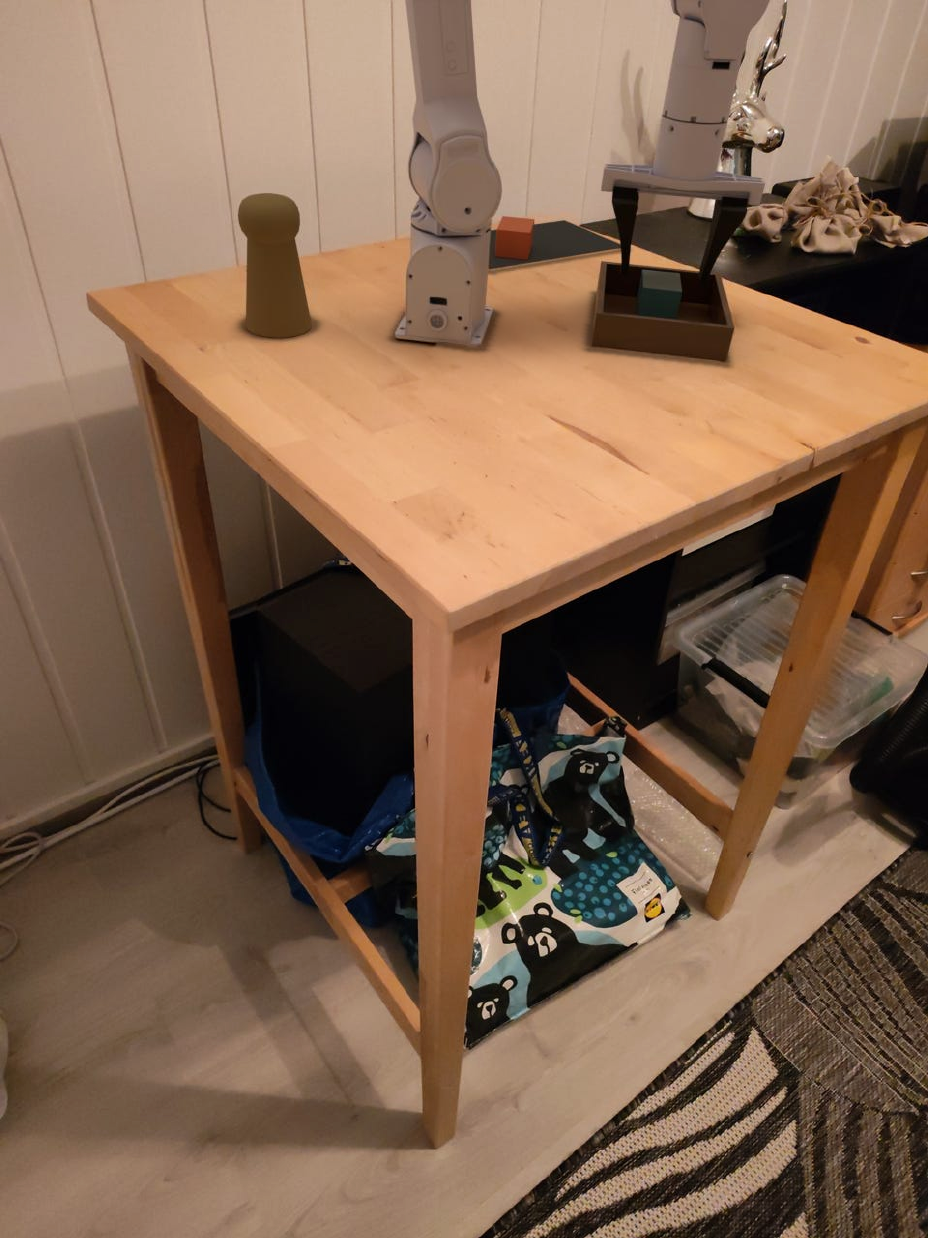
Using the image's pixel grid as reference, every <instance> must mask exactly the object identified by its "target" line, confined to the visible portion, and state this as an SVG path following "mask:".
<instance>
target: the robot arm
mask: <svg viewBox="0 0 928 1238" xmlns="http://www.w3.org/2000/svg"><path fill="white" fill-rule="evenodd" d="M770 1H771V0H670V1H669V2H670V6H671V10H672V12H673V13H672V14H674V15H675V16H677V17H679V18H678V25H677V31H676V35H675V36H676V37H675V42H674V46H673V51H672V58H671V63H670V68H669V73H668V74H669V75H668V80H667V87H666V91H665V97H664V102H663V109H662V114H661V119H660V126H659V131H658V136H657V142H656V146H655V152H654V159H653V164H616V163H615V164H613V163H604V166H603V173H602V180H601V187H600V191H601V192H609V193H611V206H612V210H613V215H614V218H615V222H616V226H617V233H618V237H619V244H620V246H621V248H620V257H621V258H620V263H621V271H620V275H626V276H628V270H629V264H631V263H630V262H631V252H632V251H631V250H632V241H633V236H634V231H635V225H636V219H637V215H638V211H639V198H640V194H649V195H662V196H671V197H681V198H691V199H704V200H714V205H713V212H712V215H711V216H712V217H711V222H710V228H709V231H708V236H707V240H706V241H707V242H706V245H705V248H704V252H703V255H702V258H701V262H700V266H699V270H698V271H699V275H698V277H699V283H704V284H706V283H707V281H708V278H709V275H710V273H712V271H713V269H714V266H715V264H716V262H717V261H718V258H719V257H720V255H721V253H722V252H723V250H724V248H725V246H726V245H727V244H728V242H729V240H730V239H731V238H732V236H733V235H734V234H735V232H736V231H737V230H738V228H739V227H740V226H741V225H742V224H743V222H744V221H745V219H746V217H747V214H748V206H756V207H757V206H758V207H760V205H761V201H762V199H763V194H764V190H765V186H766V182H765V180H764V178H763V177H757V176H749V175H743V174H735V173H729V172H725V171H724V172H723V171H718V165H719V162H720V156H721V152H722V148H723V144H724V139H725V135H726V130H727V126H728V121H729V117H730V112H731V108H732V104H733V99H734V94H735V91H736V86H737V80H738V78H739V77H738V76H739V72H740V67H741V63H742V59H743V54H744V53H745V51H746V47H747V43H748V39H749V36H750V34H751V32H752V30H753V29H754V27H755V26H756V25H757V24H758V23H759V21H760V20H761V18H762V17H763V16H764V14H765V13H766V10H767V8H768V6H769V3H770ZM404 2H405V10H406V11H405V12H406V20H407V28H408V29H407V30H408V39H409V45H410V47H409V48H410V56H411V65H412V74H413V83H414V92H415V104H414V109H413V113H412V118H411V119H412V120H411V121H412V129H413V141H412V146H411V149H410V153H409V156H408V159H407V176H408V180H409V183H410V186H411V188H412V190H413V191H414V193H415V194H416V195H417V196H418V200H417V201H416V202H415V205H414V207H413V209H412V211H411V212H410V237H409V238H410V239H409V240H410V241H409V242H410V244H409V247H410V248H409V250H410V252H409V259H408V262H407V265H406V270H405V314H404V316H403V318H402V319H401V321H400V322H399V325H398V326H397V328H396V329H395V332H394V337H395V338H396V339H398V340H399V339H400V340H409V341H417V342H426V343H435V344H436V343H447V344H454V345H455V344H456V345H464V346H474V347H479V346H481V345H482V344H483V342H484V338H485V335H486V333H487V330H488V327H489V325H490V322H491V319H492V316H493V313H494V307H492V306H488V305H487V295H488V293H487V292H488V279H489V268H488V267H489V253H490V238H491V230H492V224H493V217H495V214H496V213H497V211H498V209H499V206H500V203H501V199H502V193H503V185H502V178H501V175H500V172H499V169H498V167H497V166H496V165H495V162H494V161H493V159H492V157H491V153H490V150H489V144H488V143H489V142H488V141H489V139H488V131H487V127H486V123H485V120H484V116H483V113H482V109H481V106H480V102H479V99H478V86H477V73H476V71H477V70H476V59H475V57H476V56H475V43H474V28H473V27H474V26H473V13H472V0H404Z"/></svg>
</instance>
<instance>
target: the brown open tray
mask: <svg viewBox="0 0 928 1238" xmlns="http://www.w3.org/2000/svg"><path fill="white" fill-rule="evenodd" d="M642 270H652V271H661V272H671V273H679V274H680V279H681V287H682V295H681V300H680V304H679V309H678V313H677V318H676V320H674V319H665V318H656V317H646V316H637V295H638V290H639V284H640V279H641V274H642ZM620 271H621V262H613V261H603V260H601V262H600V267H599V274H598V280H597V287H596V293H595V305H594V317H593V324H592V325H593V326H592V334H591V335H592V336H591V345H590V346H591V347H593V348H602V349H610V350H611V349H612V350H620V351H628V352H629V351H630V352H638V353H647V354H657V355H666V356H674V357H683V358H689V359H690V358H692V359H699V360H711V361H719V362H726V361H727V359H728V354H729V350H730V347H731V344H732V339H733V335H734V333H735V325H734V321H733V318H732V313H731V309H730V305H729V302H728V298H727V293H726V289H725V285H724V281H723V278H722V274H721V273H719V272H711V273H710V275H709V278H708V281H707V283H706V284H704V283H699V277H698V275H699V270H692V269H691V270H690V269H681V268H670V267H661V266H652V265H642V264H633V263H630V264H629V270H628V276H626V275H620Z"/></svg>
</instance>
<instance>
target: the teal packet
mask: <svg viewBox="0 0 928 1238" xmlns="http://www.w3.org/2000/svg"><path fill="white" fill-rule="evenodd" d="M681 295H682V287H681V279H680V274H679V273H671V272H661V271H652V270H642V274H641V279H640V284H639V290H638V295H637V316H646V317H656V318H665V319H674V320H676V318H677V313H678V309H679V304H680V300H681Z"/></svg>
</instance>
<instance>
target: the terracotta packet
mask: <svg viewBox="0 0 928 1238" xmlns="http://www.w3.org/2000/svg"><path fill="white" fill-rule="evenodd" d="M534 224H535V219H534V218H527V217H526V218H525V217H516V216H506V215H502V216H501V218H500V221H499V223H498V225H497V228H496V229H495V230H496V243H495V257H501V258H511V259H520V260H528V257H529V254H530V250H531V247H532V241H533V231H534Z"/></svg>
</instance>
